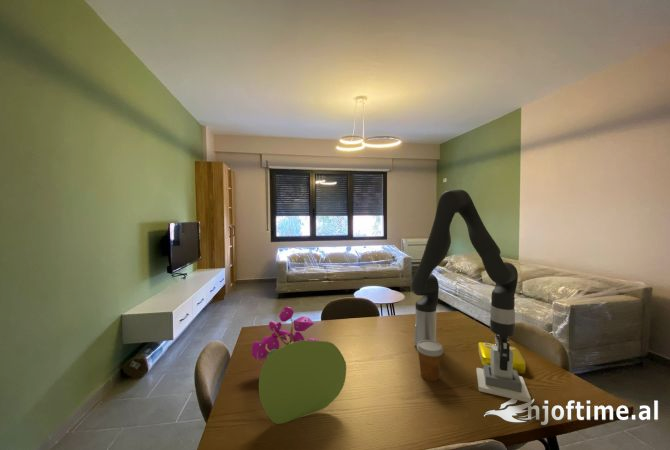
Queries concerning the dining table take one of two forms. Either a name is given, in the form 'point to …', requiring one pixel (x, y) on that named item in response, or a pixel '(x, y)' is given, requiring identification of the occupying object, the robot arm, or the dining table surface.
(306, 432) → the dining table surface
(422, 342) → the disposable coffee cup
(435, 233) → the robot arm
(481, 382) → the board
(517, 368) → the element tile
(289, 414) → the potted pink orchid
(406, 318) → the dining table surface
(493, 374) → the skincare box
